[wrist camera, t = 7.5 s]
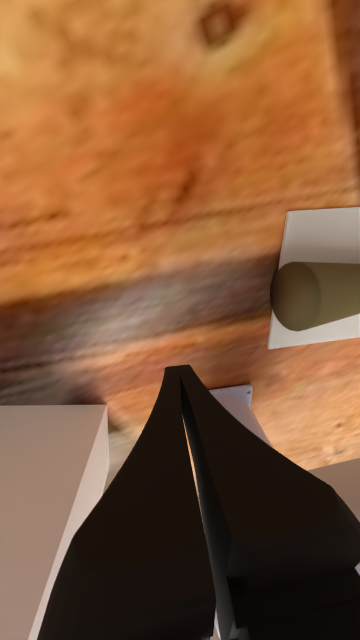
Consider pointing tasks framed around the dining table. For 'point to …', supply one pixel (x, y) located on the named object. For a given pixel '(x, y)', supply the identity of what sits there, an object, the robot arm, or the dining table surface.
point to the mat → (319, 246)
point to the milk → (44, 501)
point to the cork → (315, 293)
